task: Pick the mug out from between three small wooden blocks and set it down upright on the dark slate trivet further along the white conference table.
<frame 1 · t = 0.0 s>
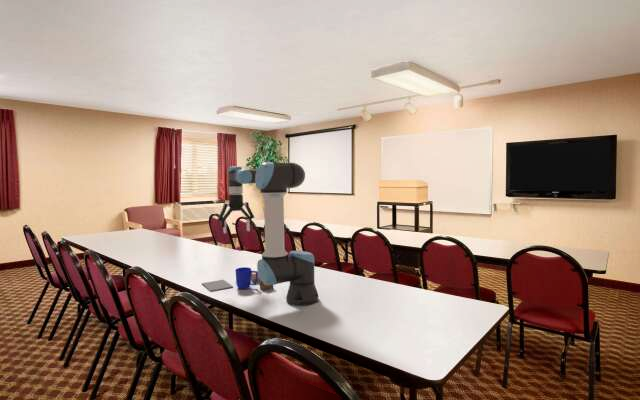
hand: (236, 232, 201), 28 cm above the table, fingers open, 13 cm apart
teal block: (242, 282, 201), on the table
oak block: (256, 281, 202), on the table
mug: (247, 288, 190), on the table
trivet: (217, 285, 194), on the table
walnut block: (266, 288, 188), on the table
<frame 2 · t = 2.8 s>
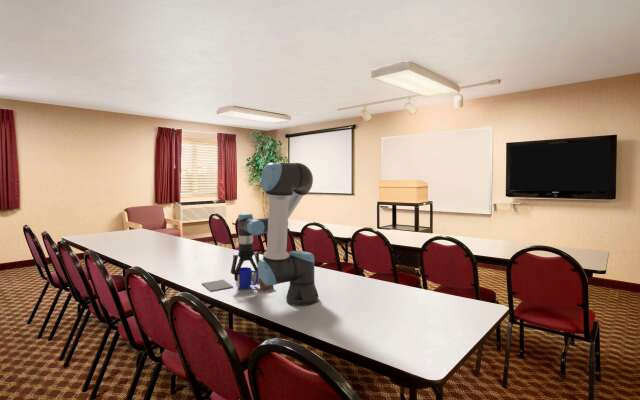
hand: (246, 285, 190), 2 cm above the table, fingers open, 9 cm apart
mug: (247, 288, 190), on the table, touching gripper
everything else where it was.
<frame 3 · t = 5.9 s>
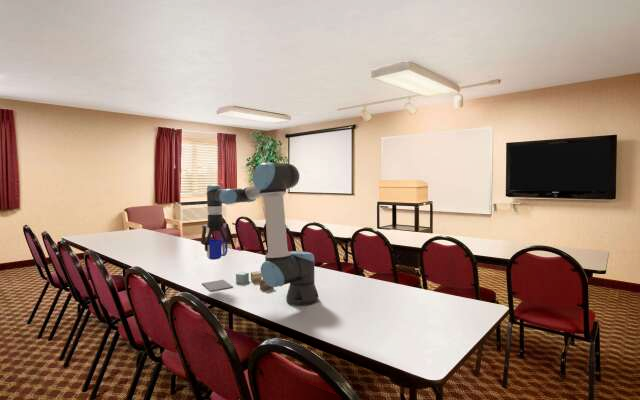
hand: (216, 255, 193), 16 cm above the table, fingers closed on mug, 8 cm apart
mug: (218, 259, 194), point 15 cm above the table, touching gripper
everything else where it was.
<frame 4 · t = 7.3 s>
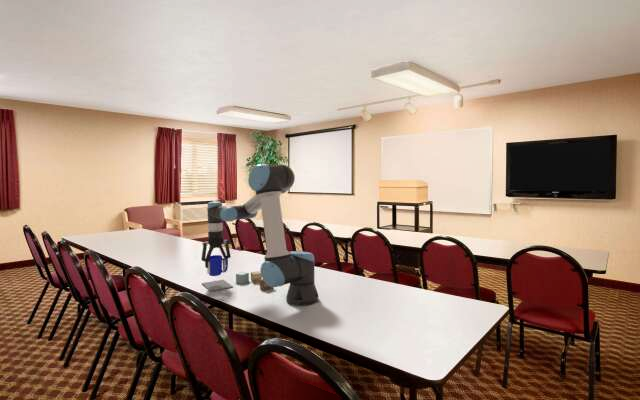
hand: (216, 272, 194), 7 cm above the table, fingers closed on mug, 8 cm apart
mug: (218, 275, 194), point 6 cm above the table, touching gripper
everything else where it was.
when the fingers open (3 cm above the table, at t = 8.6 s): mug moves 4 cm, point 1 cm above the table.
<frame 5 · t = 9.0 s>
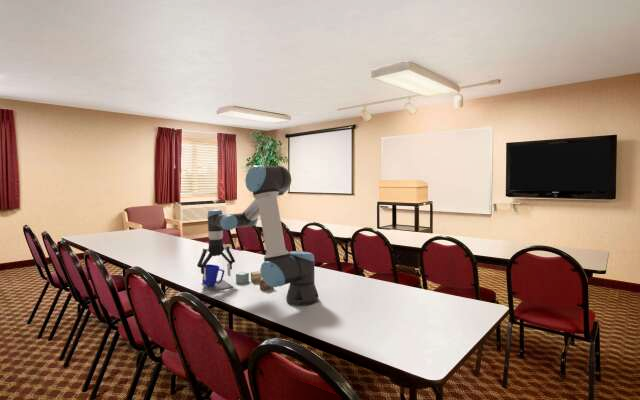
hand: (217, 277, 194), 5 cm above the table, fingers open, 13 cm apart
mug: (211, 285, 192), point 1 cm above the table, touching gripper
everything else where it was.
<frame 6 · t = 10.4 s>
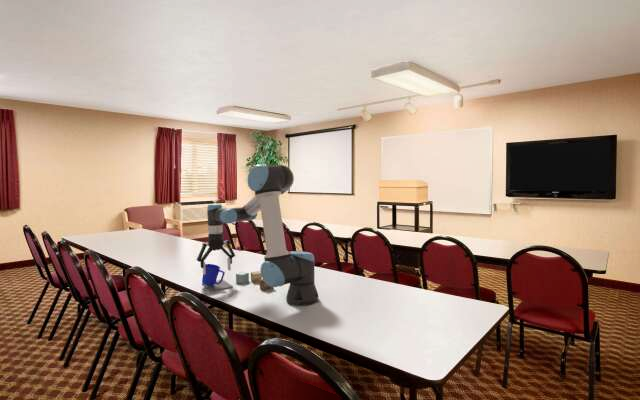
hand: (216, 271, 194), 8 cm above the table, fingers open, 13 cm apart
mug: (211, 285, 192), point 1 cm above the table, touching trivet
everything else where it was.
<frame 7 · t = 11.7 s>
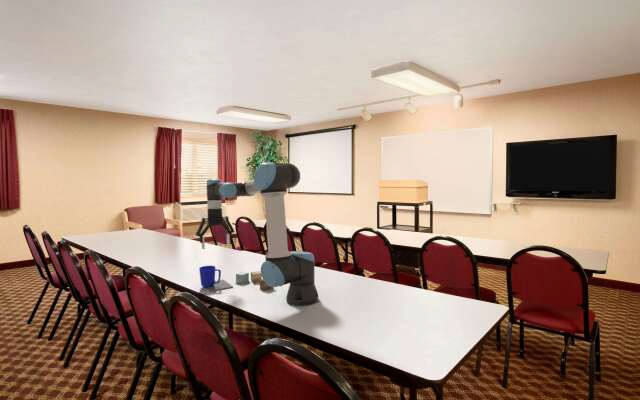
hand: (216, 247, 193), 21 cm above the table, fingers open, 13 cm apart
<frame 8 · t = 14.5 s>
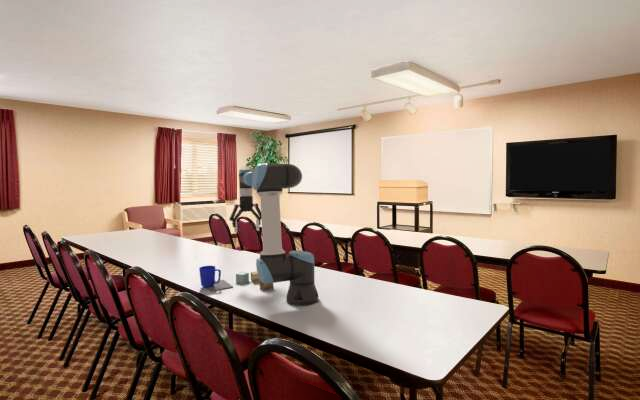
hand: (247, 231, 211), 27 cm above the table, fingers open, 13 cm apart
at the end: mug inside the target area on the trivet (3.4 cm from its centre), point 0.4 cm above the trivet's base; mug tilted 0°; the gripper is holding nothing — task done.
